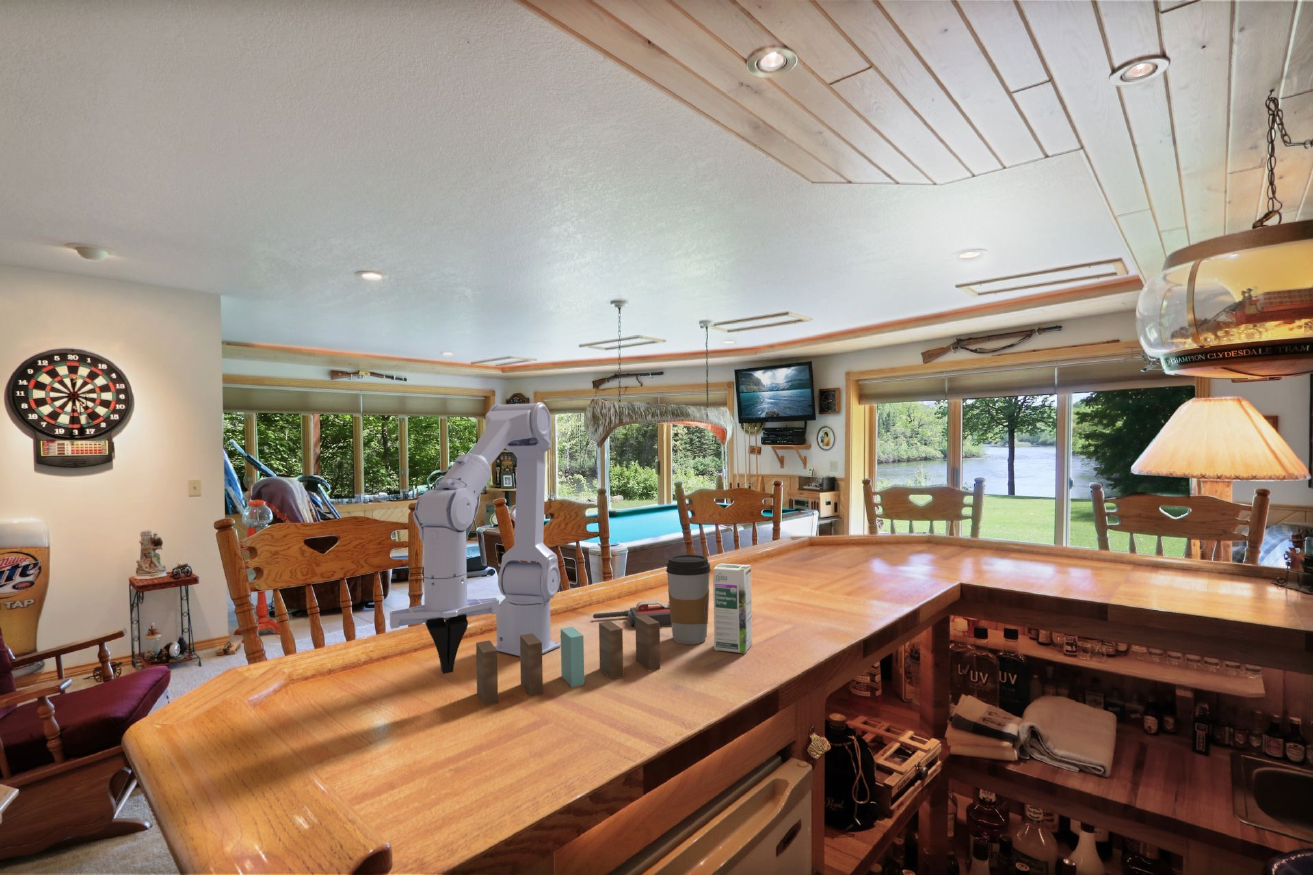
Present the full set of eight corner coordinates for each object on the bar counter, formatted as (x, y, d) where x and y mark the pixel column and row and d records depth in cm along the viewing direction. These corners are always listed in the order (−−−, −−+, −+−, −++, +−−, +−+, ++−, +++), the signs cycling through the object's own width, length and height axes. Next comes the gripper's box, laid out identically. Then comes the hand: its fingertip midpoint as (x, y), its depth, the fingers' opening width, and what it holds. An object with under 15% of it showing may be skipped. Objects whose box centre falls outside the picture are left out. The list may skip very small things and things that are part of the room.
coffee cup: (709, 647, 107) (707, 563, 108) (663, 645, 109) (661, 562, 109) (714, 633, 116) (712, 554, 116) (671, 631, 117) (670, 553, 117)
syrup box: (713, 650, 106) (711, 567, 106) (722, 640, 111) (721, 561, 111) (745, 654, 104) (743, 570, 104) (753, 643, 109) (751, 563, 109)
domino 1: (483, 705, 85) (482, 652, 85) (477, 693, 90) (476, 642, 90) (498, 702, 86) (497, 650, 86) (490, 690, 91) (489, 640, 91)
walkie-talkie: (685, 613, 131) (592, 621, 126) (684, 593, 131) (592, 600, 126) (696, 625, 122) (597, 633, 118) (695, 603, 122) (597, 611, 118)
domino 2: (529, 696, 88) (528, 644, 88) (520, 684, 93) (520, 635, 93) (542, 693, 89) (541, 642, 89) (533, 681, 94) (532, 633, 94)
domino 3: (571, 687, 91) (570, 637, 91) (561, 676, 96) (560, 628, 96) (584, 684, 92) (583, 635, 92) (573, 673, 97) (572, 626, 97)
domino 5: (649, 671, 97) (648, 624, 97) (636, 661, 102) (635, 616, 102) (660, 668, 98) (659, 622, 98) (646, 659, 102) (646, 614, 103)
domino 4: (611, 679, 94) (610, 630, 94) (599, 668, 99) (598, 622, 99) (623, 676, 95) (622, 628, 95) (611, 666, 99) (610, 620, 100)
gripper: (391, 586, 79) (392, 691, 79) (503, 573, 85) (505, 670, 85) (388, 576, 85) (389, 673, 85) (492, 565, 92) (494, 655, 91)
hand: (447, 670), depth 85 cm, fingers closed
